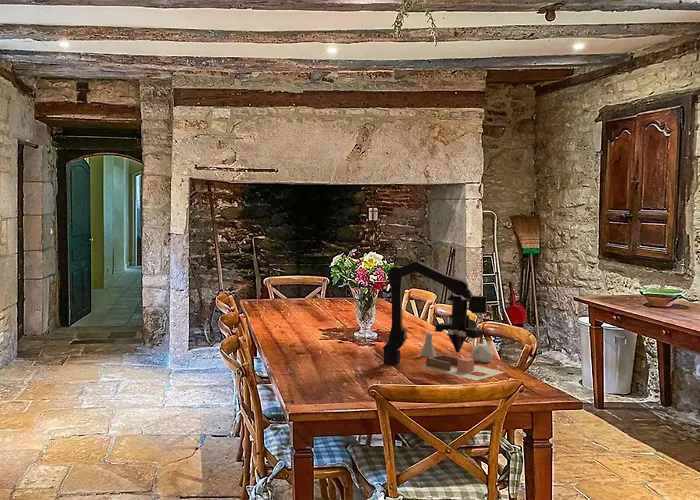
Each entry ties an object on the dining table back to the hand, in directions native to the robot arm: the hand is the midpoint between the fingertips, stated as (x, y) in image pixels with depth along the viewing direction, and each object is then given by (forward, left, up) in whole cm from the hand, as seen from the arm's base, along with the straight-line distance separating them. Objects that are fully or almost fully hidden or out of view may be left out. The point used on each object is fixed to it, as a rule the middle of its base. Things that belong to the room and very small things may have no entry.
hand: (457, 352), depth 269 cm
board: (+1, -2, -8) cm, 8 cm away
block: (0, -4, -6) cm, 7 cm away
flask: (+10, +22, -8) cm, 26 cm away
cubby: (0, +6, -6) cm, 9 cm away
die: (+20, +2, -8) cm, 22 cm away
